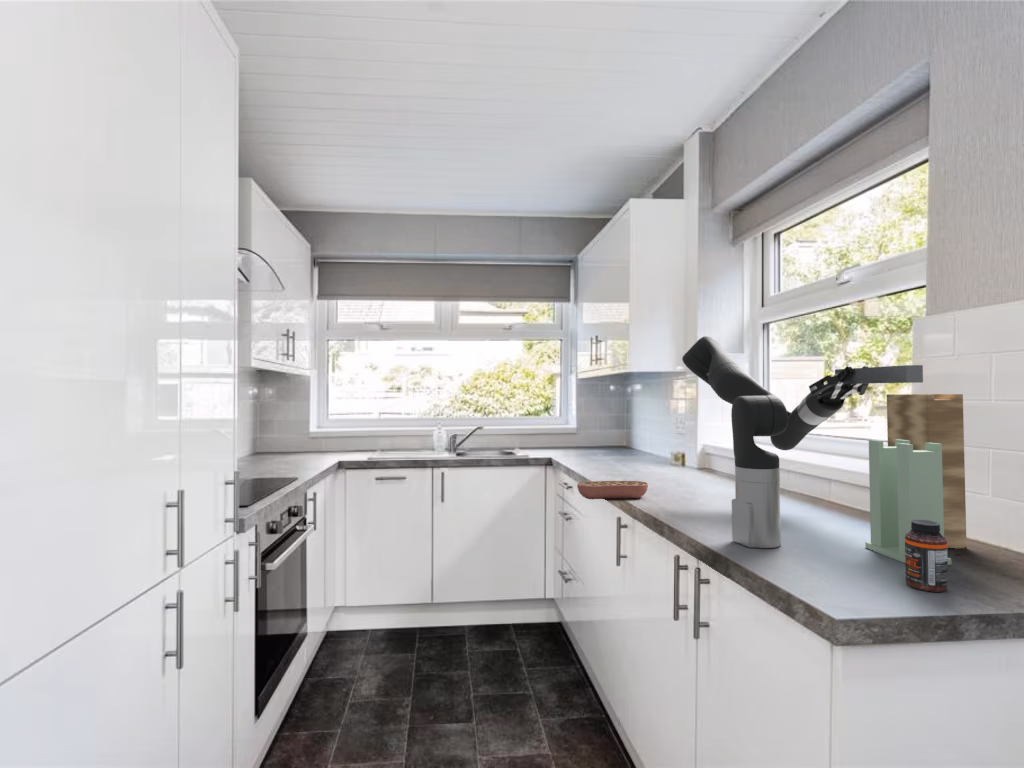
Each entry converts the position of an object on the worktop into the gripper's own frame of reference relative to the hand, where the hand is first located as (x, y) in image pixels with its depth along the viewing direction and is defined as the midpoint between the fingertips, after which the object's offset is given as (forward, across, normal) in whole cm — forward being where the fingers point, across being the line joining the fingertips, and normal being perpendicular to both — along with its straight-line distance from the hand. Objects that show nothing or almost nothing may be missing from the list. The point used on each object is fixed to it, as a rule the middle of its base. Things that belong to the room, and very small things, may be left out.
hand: (859, 369), depth 128 cm
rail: (+3, 0, +5) cm, 6 cm away
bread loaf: (-69, -44, +6) cm, 82 cm away
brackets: (-8, 0, +40) cm, 41 cm away
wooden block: (-17, +13, +35) cm, 41 cm away
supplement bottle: (+7, -11, +49) cm, 51 cm away
